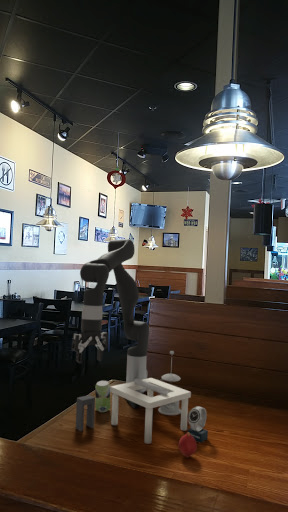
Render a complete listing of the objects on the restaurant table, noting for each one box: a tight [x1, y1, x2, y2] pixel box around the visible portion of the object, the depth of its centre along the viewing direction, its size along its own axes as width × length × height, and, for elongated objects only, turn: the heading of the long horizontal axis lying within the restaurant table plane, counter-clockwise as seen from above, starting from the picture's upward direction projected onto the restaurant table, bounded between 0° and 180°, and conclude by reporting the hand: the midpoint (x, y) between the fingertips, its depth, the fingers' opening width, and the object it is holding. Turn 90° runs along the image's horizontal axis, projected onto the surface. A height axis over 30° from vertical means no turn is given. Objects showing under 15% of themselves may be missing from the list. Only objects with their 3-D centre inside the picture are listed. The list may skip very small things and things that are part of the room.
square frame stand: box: [110, 377, 192, 445], centre depth 151 cm, size 21×22×16 cm
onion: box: [178, 431, 198, 458], centre depth 128 cm, size 6×6×8 cm
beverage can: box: [94, 380, 111, 413], centre depth 165 cm, size 6×7×12 cm
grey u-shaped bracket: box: [75, 394, 96, 432], centre depth 147 cm, size 6×4×11 cm, turn 131°
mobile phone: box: [126, 399, 141, 410], centre depth 176 cm, size 5×3×15 cm
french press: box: [156, 350, 181, 416], centre depth 169 cm, size 10×12×25 cm
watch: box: [187, 405, 209, 444], centre depth 142 cm, size 6×8×11 cm
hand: (89, 361), depth 148 cm, fingers open, 8 cm apart
